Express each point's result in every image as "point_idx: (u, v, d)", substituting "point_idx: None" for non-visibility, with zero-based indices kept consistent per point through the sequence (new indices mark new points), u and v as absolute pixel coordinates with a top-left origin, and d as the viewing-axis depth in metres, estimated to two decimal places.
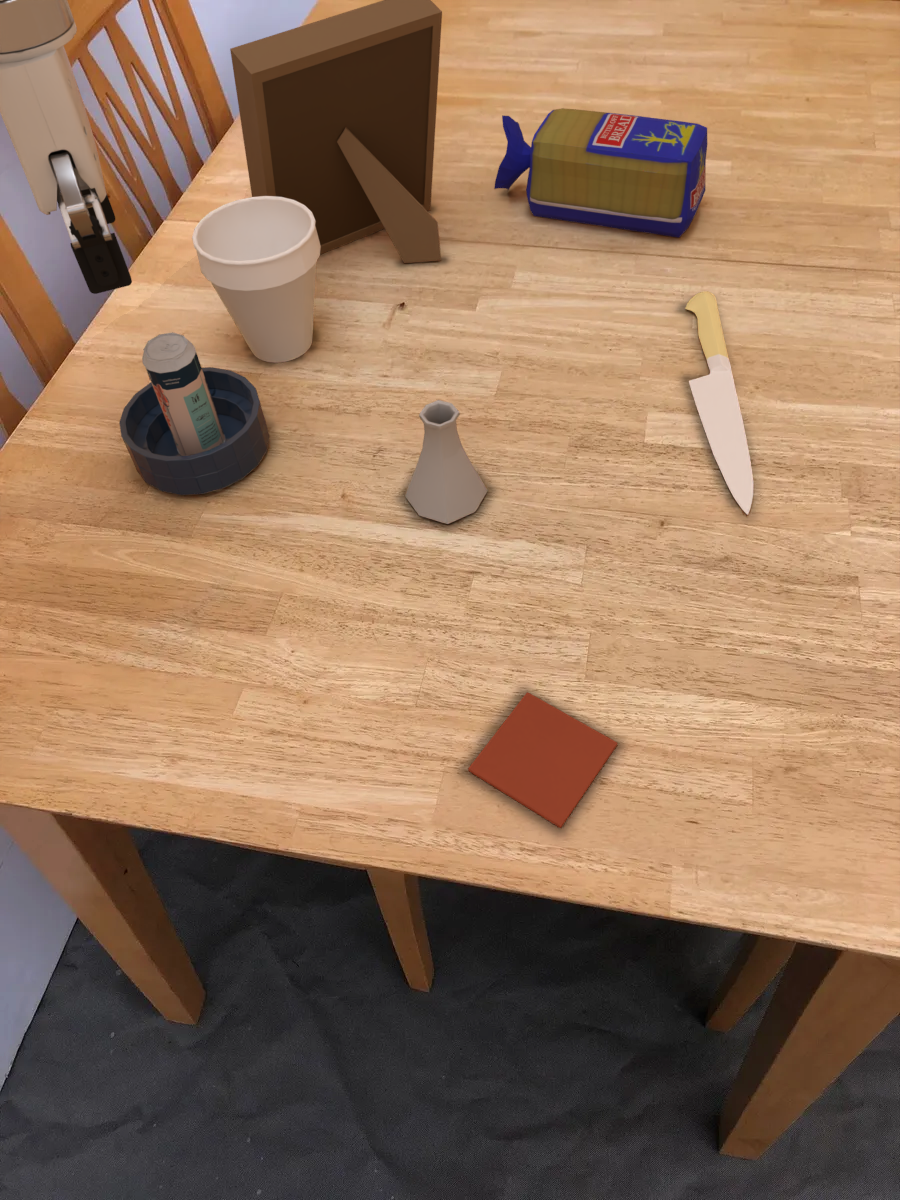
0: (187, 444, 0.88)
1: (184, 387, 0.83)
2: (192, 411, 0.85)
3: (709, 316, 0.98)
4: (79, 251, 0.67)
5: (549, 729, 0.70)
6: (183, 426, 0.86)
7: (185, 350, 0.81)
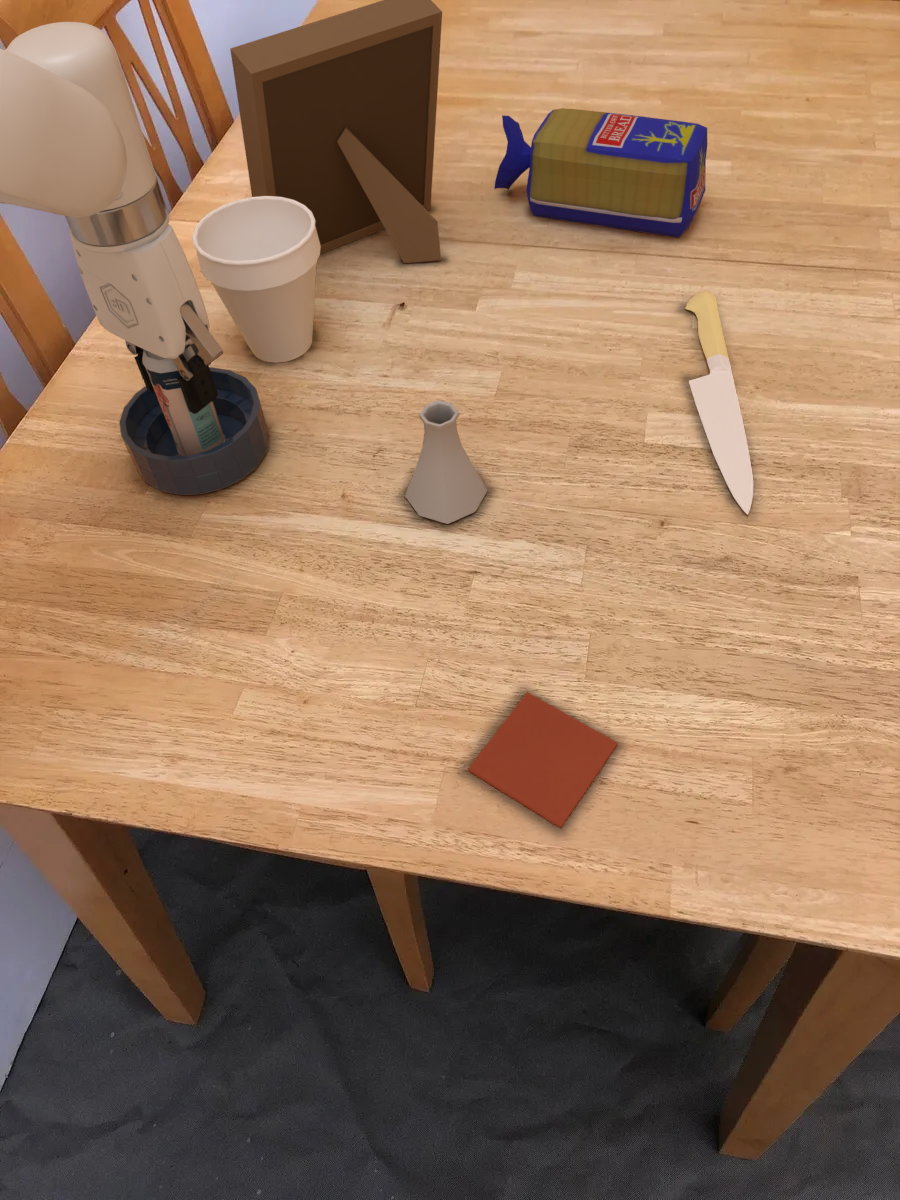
0: (187, 444, 0.88)
1: None
2: None
3: (709, 316, 0.98)
4: (186, 382, 0.81)
5: (549, 729, 0.70)
6: (183, 426, 0.86)
7: (185, 350, 0.81)
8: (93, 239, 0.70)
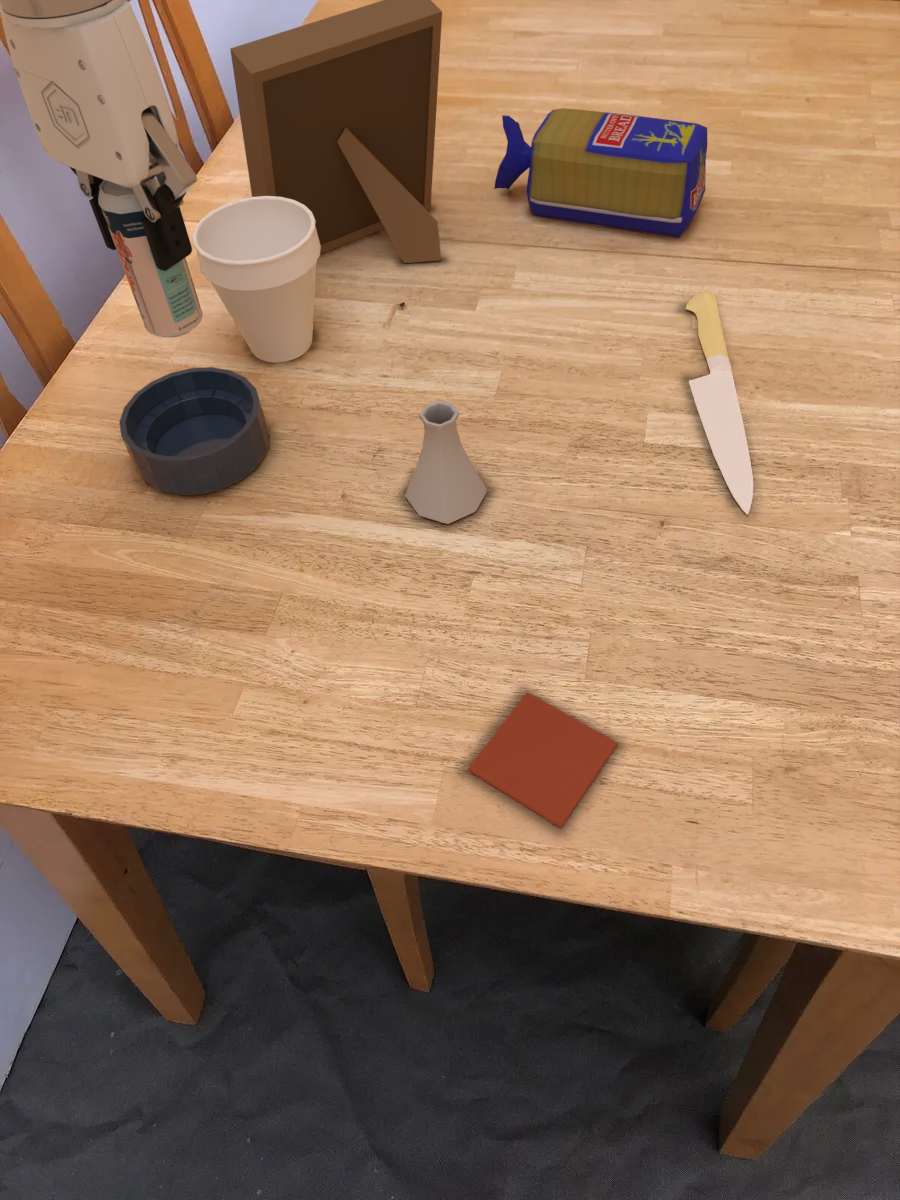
0: (155, 316, 0.72)
1: None
2: None
3: (709, 316, 0.98)
4: (152, 226, 0.66)
5: (549, 729, 0.70)
6: (150, 290, 0.71)
7: (151, 186, 0.66)
8: (27, 8, 0.54)
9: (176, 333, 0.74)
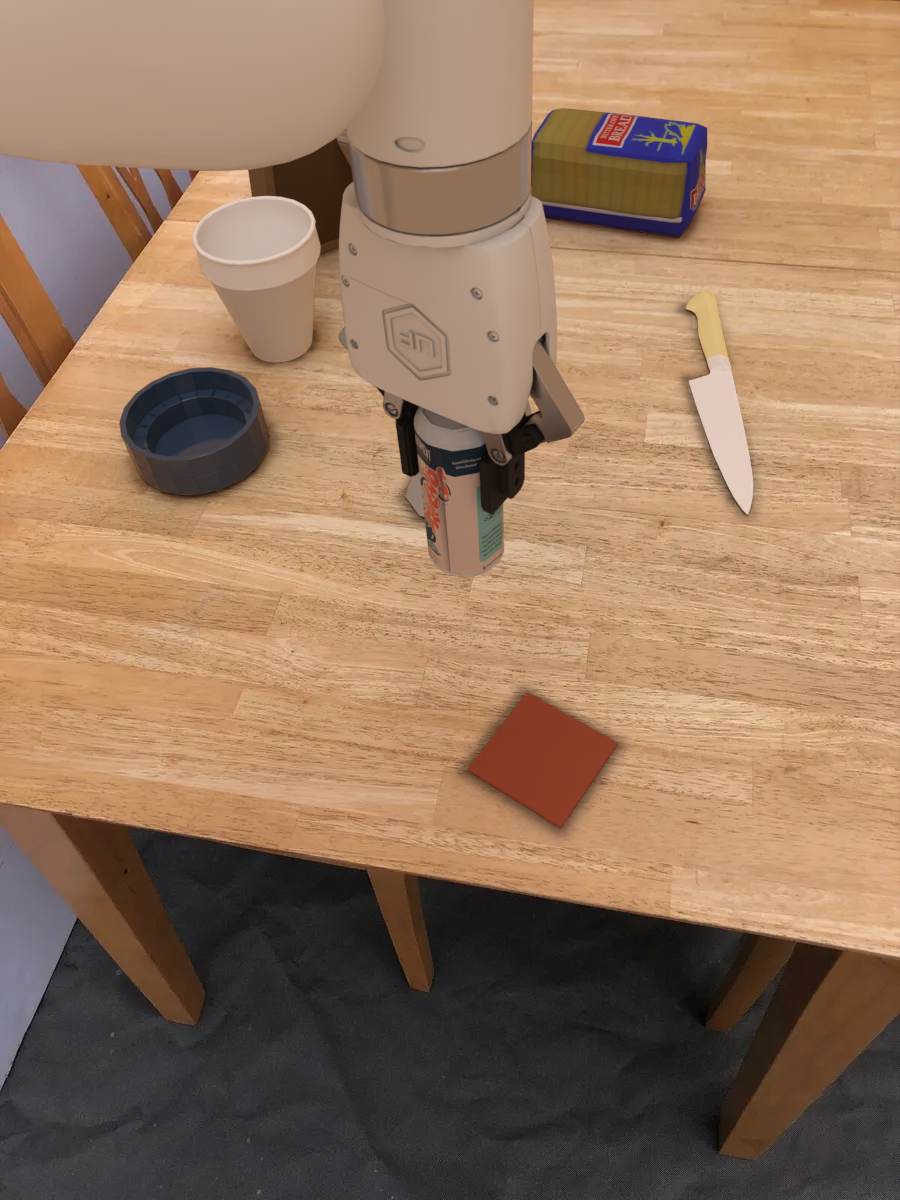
0: (458, 556, 0.55)
1: None
2: None
3: (709, 316, 0.98)
4: (493, 466, 0.48)
5: (549, 729, 0.70)
6: (462, 530, 0.53)
7: None
8: (417, 222, 0.37)
9: (477, 573, 0.56)
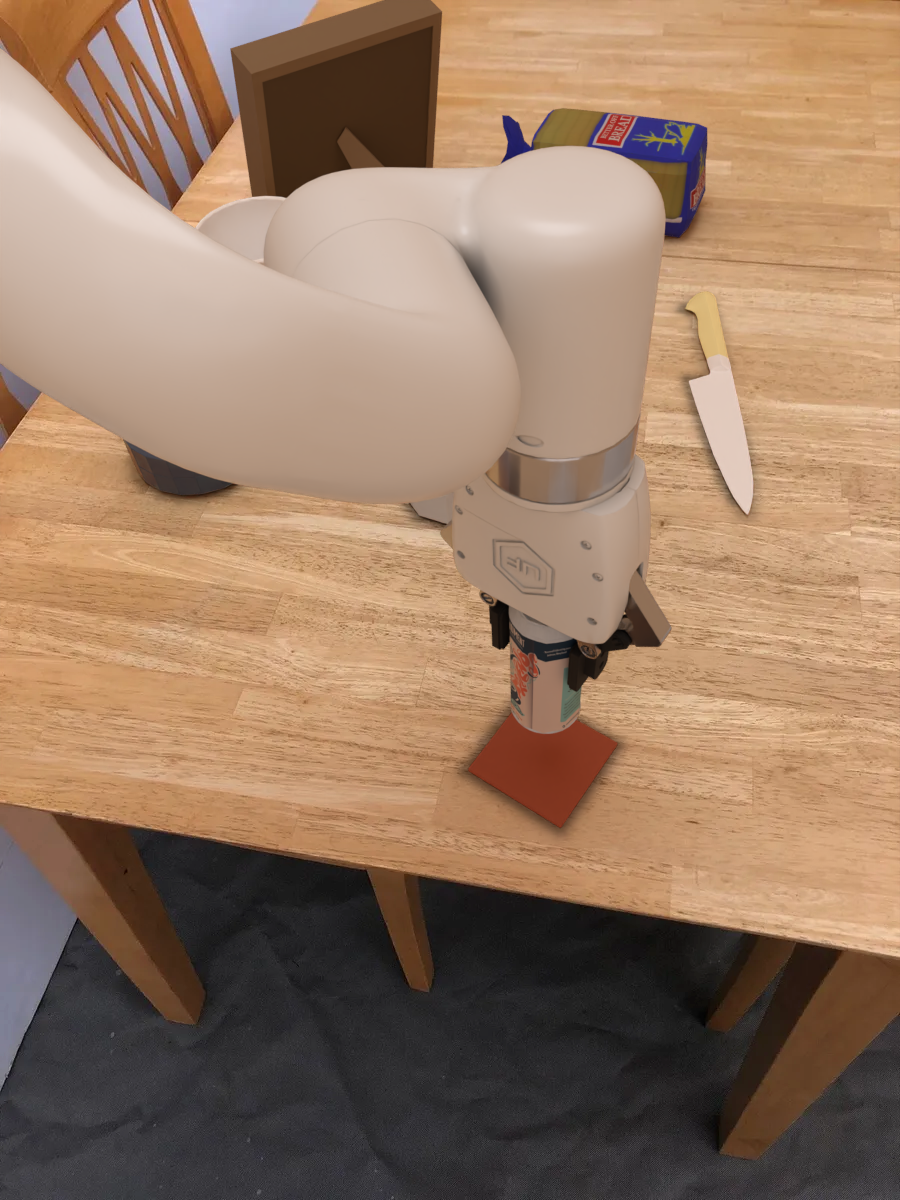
0: (541, 718, 0.60)
1: None
2: None
3: (709, 316, 0.98)
4: (582, 656, 0.53)
5: None
6: (547, 699, 0.58)
7: None
8: (539, 494, 0.41)
9: (557, 730, 0.61)
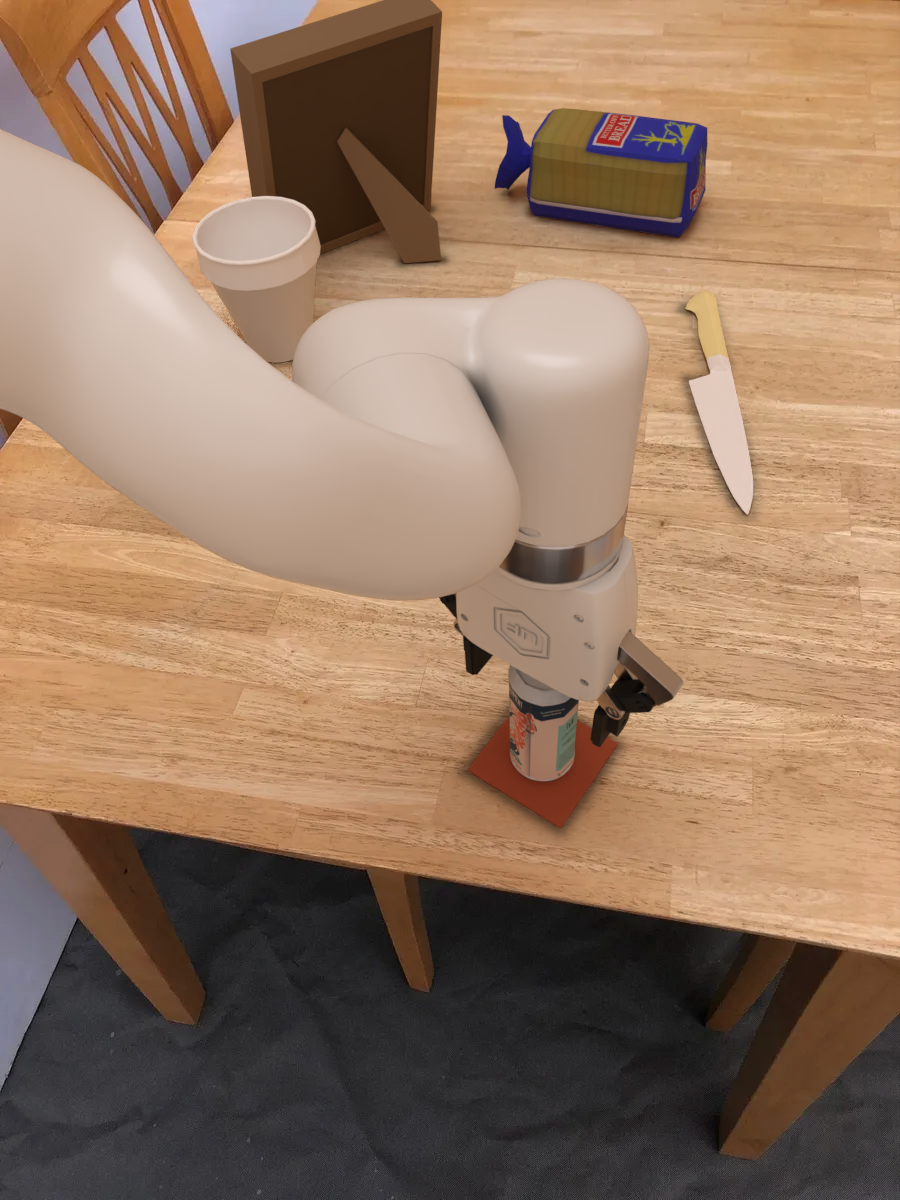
0: (538, 768, 0.65)
1: (564, 716, 0.60)
2: (562, 738, 0.62)
3: (709, 316, 0.98)
4: (606, 716, 0.56)
5: None
6: (543, 752, 0.63)
7: None
8: (536, 575, 0.46)
9: (552, 777, 0.66)
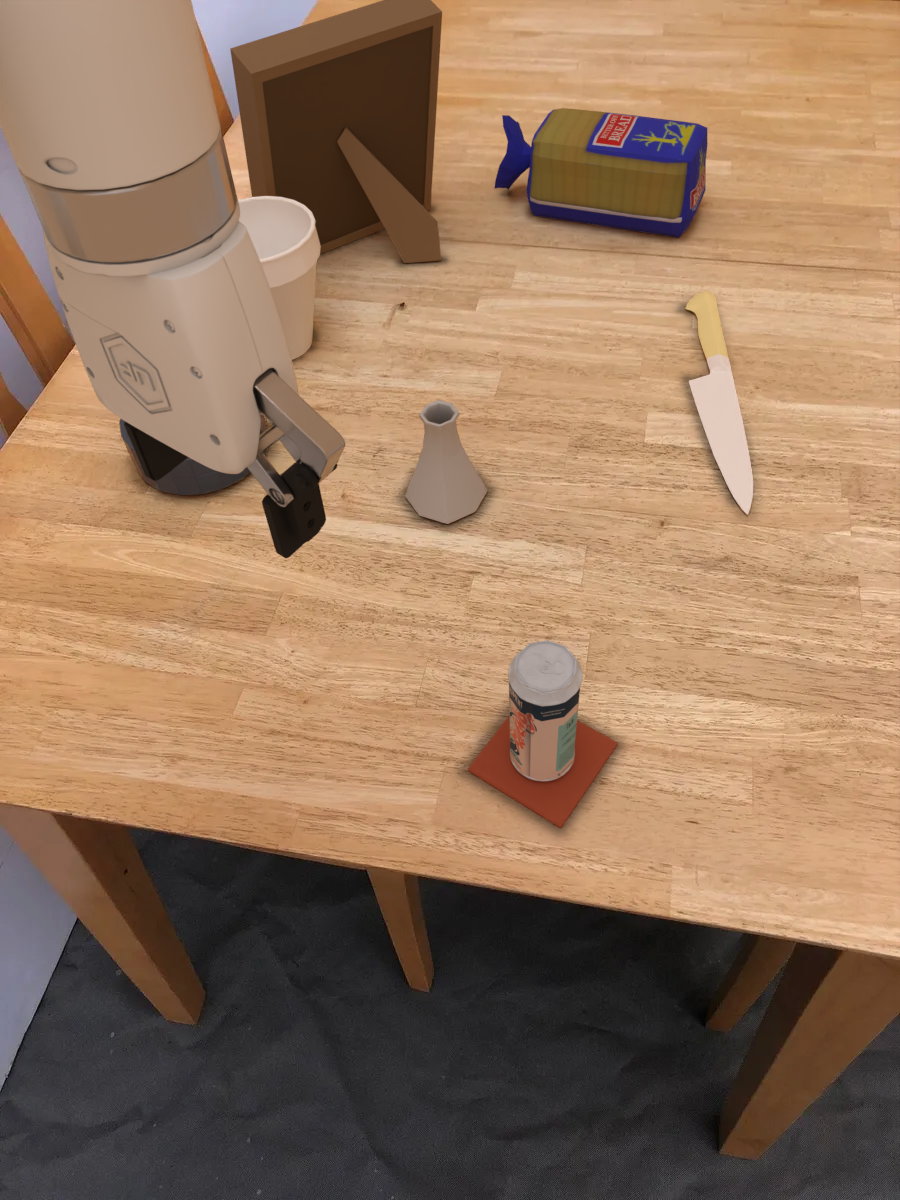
0: (538, 768, 0.65)
1: (564, 716, 0.60)
2: (562, 738, 0.62)
3: (709, 316, 0.98)
4: (277, 507, 0.44)
5: None
6: (543, 752, 0.63)
7: (575, 673, 0.58)
8: (88, 248, 0.34)
9: (552, 777, 0.66)
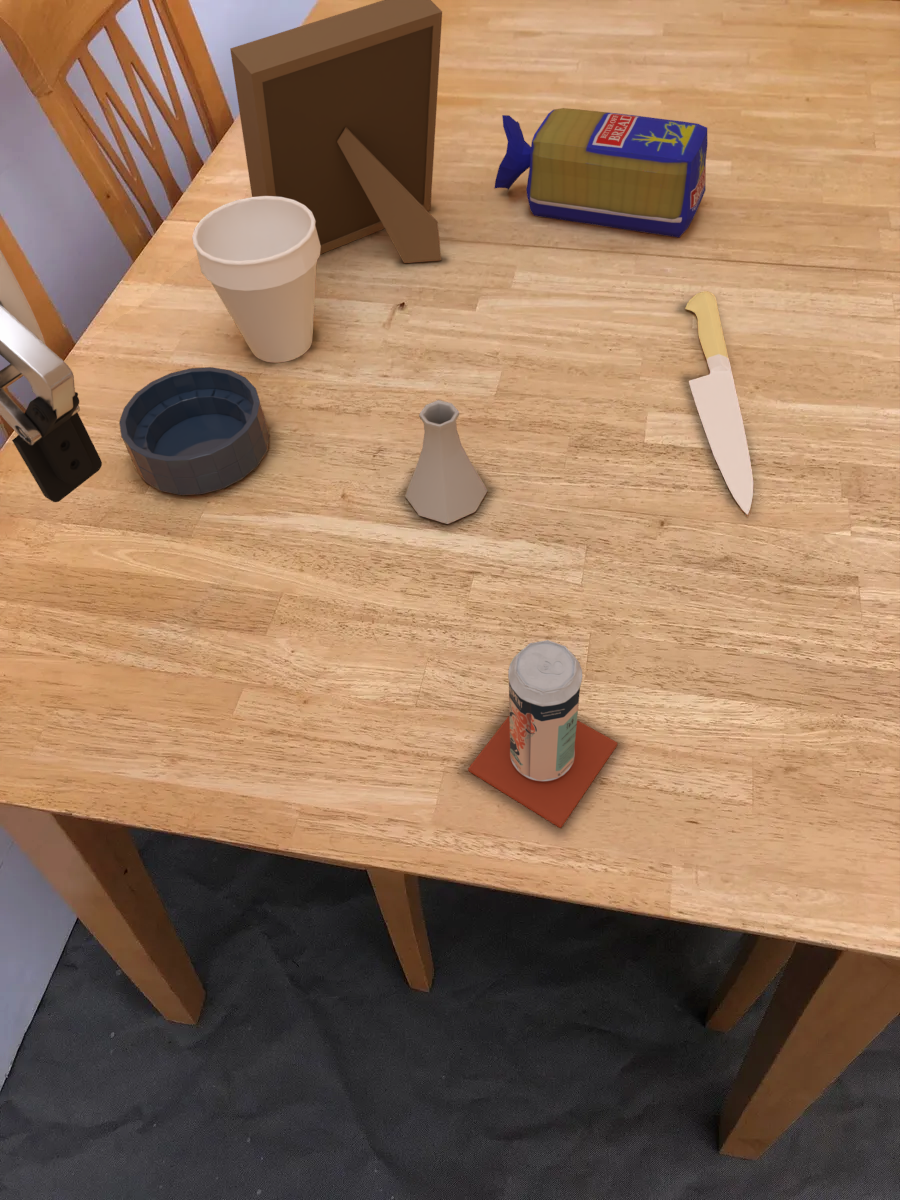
0: (538, 768, 0.65)
1: (564, 716, 0.60)
2: (562, 738, 0.62)
3: (709, 316, 0.98)
4: (30, 446, 0.42)
5: None
6: (543, 752, 0.63)
7: (575, 673, 0.58)
8: None
9: (552, 777, 0.66)
